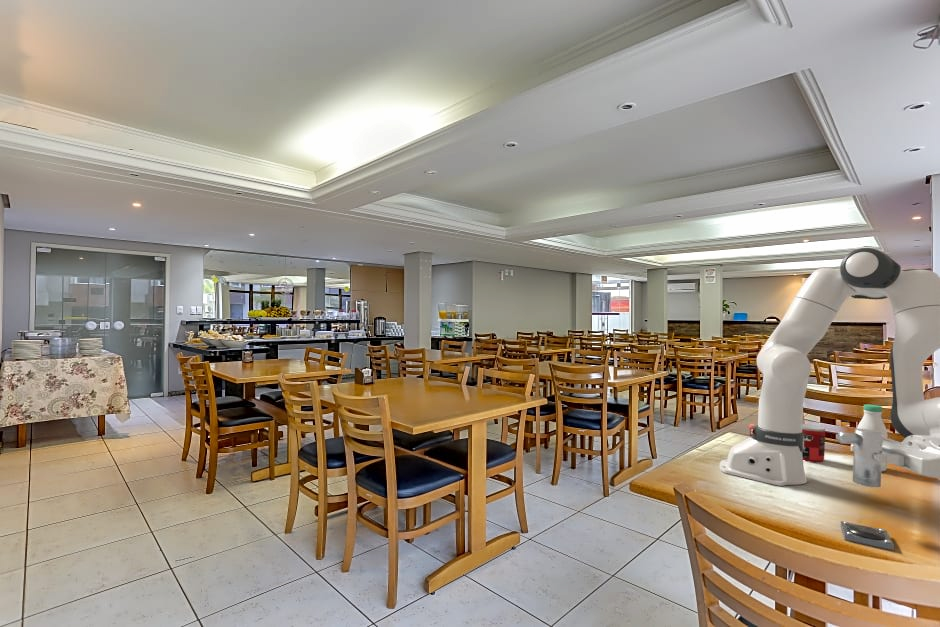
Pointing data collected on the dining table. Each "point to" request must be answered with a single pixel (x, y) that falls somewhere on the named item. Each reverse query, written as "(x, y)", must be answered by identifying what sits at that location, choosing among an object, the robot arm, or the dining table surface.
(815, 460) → the canned food
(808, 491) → the dining table surface
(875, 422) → the milk bottle
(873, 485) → the grey pipe with spout
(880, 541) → the duct flange
